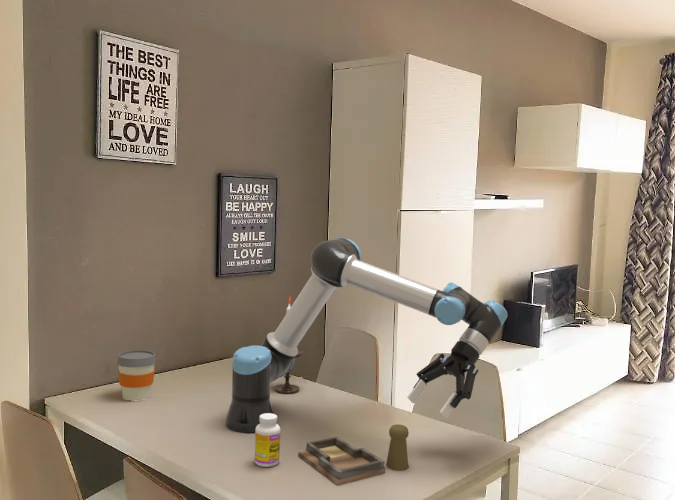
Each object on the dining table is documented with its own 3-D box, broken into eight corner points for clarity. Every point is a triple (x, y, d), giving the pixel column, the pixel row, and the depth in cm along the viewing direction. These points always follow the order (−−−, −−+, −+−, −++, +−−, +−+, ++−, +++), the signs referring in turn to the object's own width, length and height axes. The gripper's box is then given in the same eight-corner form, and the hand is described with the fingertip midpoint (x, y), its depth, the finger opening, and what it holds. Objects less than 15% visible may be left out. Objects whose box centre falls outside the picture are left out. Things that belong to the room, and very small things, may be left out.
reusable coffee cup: (163, 396, 224) (163, 353, 223) (134, 405, 214) (134, 361, 212) (138, 389, 231) (138, 348, 230) (109, 398, 220) (109, 355, 219)
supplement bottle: (269, 470, 168) (270, 422, 167) (249, 463, 172) (250, 416, 171) (284, 461, 174) (285, 415, 173) (265, 455, 177) (266, 410, 176)
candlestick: (285, 383, 243) (287, 291, 240) (307, 389, 237) (310, 295, 234) (265, 390, 234) (268, 295, 231) (288, 396, 228) (291, 299, 225)
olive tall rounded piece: (407, 471, 170) (409, 431, 169) (384, 468, 171) (386, 428, 170) (409, 462, 176) (411, 423, 175) (387, 459, 177) (389, 420, 176)
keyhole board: (298, 455, 178) (298, 444, 178) (343, 445, 186) (344, 435, 186) (336, 484, 161) (337, 472, 161) (385, 472, 169) (385, 460, 169)
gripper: (508, 366, 175) (464, 430, 168) (446, 346, 196) (405, 402, 189) (495, 349, 172) (450, 413, 165) (433, 331, 192) (391, 387, 186)
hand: (426, 407), depth 177 cm, fingers open, 13 cm apart
